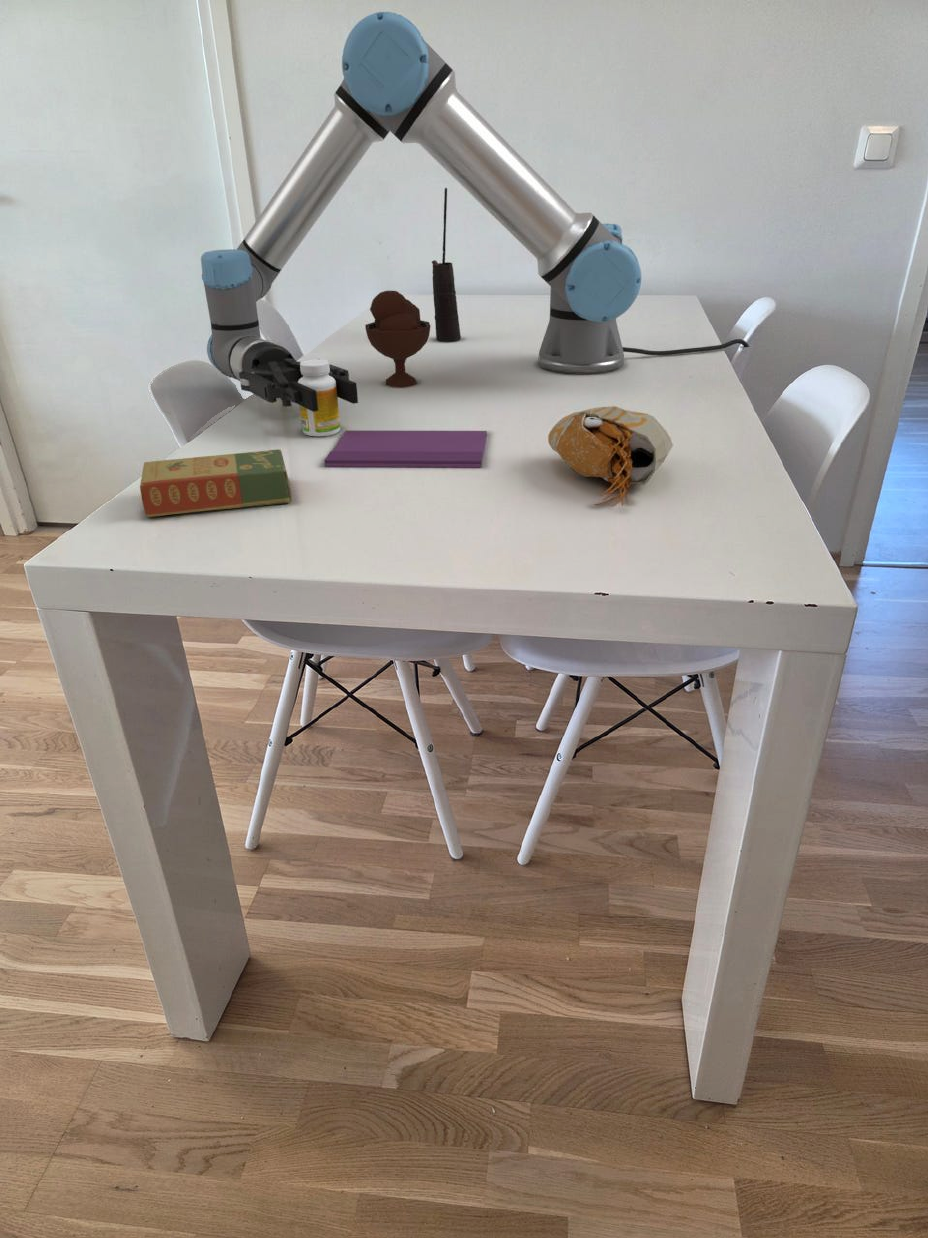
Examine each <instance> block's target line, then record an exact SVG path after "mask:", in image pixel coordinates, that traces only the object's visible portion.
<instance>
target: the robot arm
mask: <svg viewBox="0 0 928 1238" xmlns="http://www.w3.org/2000/svg"><path fill="white" fill-rule="evenodd" d="M341 68H342V69H341V71H342V76H343V79H342V81H341V82H340V85H339V86H338V88H337V89H336V91H335V92H334V94H333V97H334V107H333V108H332V110H331V111H330V113H329V114H328V115H327V117H326V118H325V119H324V121H323V123H322V124H321V125H320V126H319V128H318V130H317V131H316V133H315V135H314V136H313V137H312V138H311V140H310V141H309V143H308V144H307V146H306V148H305V149H304V151H303V152H302V153H301V155H300V156H299V158H298V159H297V161H296V162H295V164H294V165H293V166H292V168H291V169H290V171H289V172H288V174H287V175H286V176H285V178H284V179H283V181H282V182H281V184H280V185H279V187H278V188H277V190H276V191H275V193H274V194H273V196H272V197H271V198H270V200H269V201H268V203H267V205H266V206H265V208H264V209H263V210H262V211H261V213H260V215H259V217H258V218H257V219H256V220H255V222H254V224H253V225H252V227H251V228H250V229H249V231H248V233H247V234H246V235H245V236H244V238H243V240H242V241H241V242H240V243H239V244H238V247H237V248H236V249H235V248H234V249H215V250H209V251H208V250H207V251H205V252H204V253H202V255H201V256H200V265H201V279H202V282H203V287H204V293H205V299H206V305H207V309H208V315H209V321H210V330H211V331H210V332H211V334H210V336H209V338H208V341H207V344H206V354H207V357H208V360H209V363H211V365H212V366H213V367H214V368H215V369H216V370H218V371H219V372H220V373H221V374H222V375H224V376H225V377H228V378H232V379H234V380H236V381H239V384H240V389H241V391H244V392H249V393H251V394H252V395H255V396H256V397H259V398H260V399H261V400H264V401H265V402H267V403H271V404H273V403H277V401H278V400H277V399H280V400H281V405H282V407H285V408H287V407H291V406H292V403H293V404H296V405H298V406H299V407H300V406H302V407H304V408H306V409H308V410H311V411H313V412H315V411H318V404H317V394H316V390H314V389H311V388H309V387H307V386H305V385H302V384H300V383H298V381H299V379H300V378H302V377H303V375H302V374H301V371H300V363H301V362H302V361H298V360H296V359H295V358H294V356H293V354H292V353H291V352H290V351H289V350H288V349H287V348H286V347H284V346H282V345H279V344H277V343H274V342H272V341H269V340H267V339H263V338H261V331H260V321H259V315H258V307H257V302H258V301H259V300H262V299H263V298H264V297H265V296H266V295H267V294H268V292H269V291H270V290H271V288H272V285H273V283H274V281H276V279H277V277H278V276H279V274H280V273H281V271H282V270H283V269H284V267H285V266H286V265H287V263H288V261H289V260H290V259H291V258H292V256H293V255H294V253H295V252H296V251H297V250H298V248H299V246H300V245H301V243H302V242H303V241H304V240H305V238H306V237H307V235H308V234H309V233H310V231H311V229H312V228H313V227H314V226H315V224H316V223H317V221H318V220H319V219H320V218H321V216H322V214H324V212H325V210H326V209H327V207H328V206H329V205H330V203H331V202H332V200H333V199H334V197H335V196H336V195H337V193H339V191H340V189H341V188H342V186H343V185H344V183H345V182H346V181H347V180H348V178H349V176H351V174H352V172H353V171H354V170H355V168H356V167H357V166H358V164H359V163H360V161H362V159H363V157H364V156H365V154H366V153H367V152H368V150H369V149H370V148H371V146H372V145H373V144H374V143H377V142H383V141H384V140H385V139H386V138H387V136H388V135H389V133H391V134H393V135H394V136H395V138H397V139H398V140H399V141H400V142H401V144H417V145H419V146H420V147H422V148H423V150H425V152H426V153H428V154H429V155H430V156H431V157H432V158H433V159H434V160H435V161H436V162H437V163H438V164H439V165H440V166H441V167H442V168H443V169H444V170H445V171H446V172H447V173H448V174H449V175H450V176H451V177H452V178H453V179H455V181H457V183H458V184H459V185H460V186H462V187H463V189H464V190H466V191H467V192H468V193H469V194H470V195H471V196H472V197H473V198H474V200H476V201H477V202H478V203H479V204H480V205H481V206H482V207H483V208H484V209H485V210H486V211H487V212H488V213H489V214H490V215H491V216H492V217H493V218H494V219H495V220H496V221H498V222H499V223H500V225H501V226H503V228H505V229H506V230H507V231H508V232H509V234H511V235H512V237H514V238H515V240H517V241H518V242H519V243H520V244H521V245H522V246H523V248H525V249H526V250H527V251H528V252H529V253H531V255H532V256H533V257H534V258H536V261H537V274H538V276H539V277H540V278H541V279H542V280H543V281H545V283H546V284H547V285H549V287H550V297H549V320H548V323H547V326H546V330H545V332H544V336H543V339H542V342H541V344H540V347H539V350H538V357H537V358H538V360H537V361H538V362H537V364H538V365H539V367H541V368H543V369H544V370H547V371H551V372H556V373H564V374H576V375H577V374H582V375H583V374H584V375H586V374H587V375H588V374H601V373H607V372H612V371H616V370H618V369H621V368H622V367H623V366H624V361H625V360H624V359H625V353H633V354H640V355H646V356H647V355H648V356H671V355H681V354H689V353H691V354H692V353H700V352H701V353H702V352H709V351H718V350H723V349H726V348H728V347H731V346H733V345H736V344H740V345H742V346H743V347H744V348H750V345H749V343H748V342H747V341H746V340H744V339H741V338H736V339H731V340H729V341H727V342H724V343H722V344H716V345H709V346H708V345H707V346H700V347H689V348H678V349H670V350H649V349H643V348H635V347H626V346H623V345H622V344H623V343H622V339H621V336H620V332H619V327H618V323H617V318H619V317H621V316H622V315H624V314H625V313H626V312H627V311H628V310H629V309H630V308H631V307H632V305H633V304H634V303H635V301H636V299H637V298H638V295H639V293H640V289H641V285H642V270H641V266H640V263H639V260H638V258H637V256H636V254H635V252H634V251H633V250H632V249H631V247H629V246H628V245H627V244H624V243H623V241H624V240H623V236H622V233H623V231H622V227H621V226H620V225H619V224H617V223H603V222H601V221H600V220H599V219H598V218H597V217H596V216H595V215H594V214H593V213H592V212H577V211H575V210H574V209H573V208H572V207H571V206H570V205H569V203H567V202H566V201H565V200H564V199H563V198H562V197H561V196H560V195H559V194H558V193H557V191H556V190H554V189H553V188H552V187H551V185H549V184H548V182H547V181H545V179H544V178H542V176H541V175H540V174H539V172H537V171H536V170H535V169H534V167H532V166H531V165H530V164H529V162H527V161H526V160H525V159H524V158H523V157H522V156H521V154H519V153H518V152H517V150H515V148H514V147H512V146H511V145H510V144H509V143H508V142H507V140H506V139H505V138H504V137H503V136H502V135H501V134H500V133H499V132H498V131H496V129H495V128H494V127H493V126H492V125H491V124H490V123H489V122H488V121H487V119H485V118H484V117H483V116H482V115H481V114H480V112H478V111H477V110H476V109H475V107H473V106H472V105H471V104H470V103H469V102H468V100H466V99H465V97H464V96H463V95H462V94H460V92H459V91H458V89H457V83H456V72H455V71H454V69H453V68H452V67H451V66H450V65H449V64H448V63H447V62H446V61H445V60H444V59H443V58H442V57H441V55H439V54H438V52H436V51H435V50H434V48H433V47H431V45H430V44H429V43H428V42H427V41H426V40H425V39H424V37H423V36H422V34H421V31H420V30H419V29H418V28H417V26H416V25H415V24H414V23H413V22H412V21H411V20H409V19H408V18H407V17H405V16H403V15H402V14H398V13H396V12H392V11H378V12H377V11H376V12H374V13H371V14H368V15H366V16H365V17H363V18H362V19H360V20H359V21H358V22H357V23H356V24H355V25H354V27H353V28H352V29H351V30H350V32H349V33H348V35H347V38H346V40H345V43H344V46H343V50H342V57H341ZM329 366H330V372H329V373H328V374H329V376H331V377H333V378H334V379H335V381H336V387H337V397H338V399H341V400H344V401H345V402H349V403H351V404H353V405H354V404H359V397H358V384H357V382H355V381H352V380H350V374H349V370H348V369H345V368H342V367H339V366H336V365H334V364H332V363H331V364H330V363H329Z"/></svg>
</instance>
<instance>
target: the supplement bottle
mask: <svg viewBox="0 0 928 1238" xmlns="http://www.w3.org/2000/svg"><path fill="white" fill-rule="evenodd" d="M300 362H301V363H300V371H301V374H302V375H303V377H302V378H300V379H299V381H298V383H300V384H302V385H305V386H307V387H309V388H311V389H314V390H316V394H317V404H318V411H315V412H313V411H311V410H308V409H306V408H304V407H302V406H300V405H299V413H300V420H301V428H302V432H303V434H304V435H306V436H309V437H327V436H328V437H329V436H333V435H336V434H337V433H339V432H340V430H341V419H340V409H339V397H337V387H336V381H335V379H334V378H333V377H331V376H329V374H328V373H329V372H330V366H329V364H330V361H329V360H327V359H322V358H317V359H316V358H315V359H307V360H302V361H300Z"/></svg>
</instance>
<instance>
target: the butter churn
mask: <svg viewBox="0 0 928 1238" xmlns="http://www.w3.org/2000/svg"><path fill="white" fill-rule="evenodd" d="M443 194H444V198H443V199H444V202H443V232H442V233H443V234H442V235H443V236H442V259H441V260H442V261H441V262H439V263H438V261H437V260H434V259H433V260H432V261H431V265H432V294H433V306H434V307H433V309H434V322H435V323H434V325H435V339H436V341H437V342H441V343H452V342H458V341H460V340H461V339H462V336H461V329H460V328H461V327H460V319H459V311H458V310H459V309H458V301H457V295H456V294H457V291H456V284H455V274H454V267H453V263H452V262H449V261H447V262H446V244H447V243H446V241H447V240H446V238H447V236H446V233H447V212H448V211H447V210H448V209H447V207H448V187H445V188H444V193H443Z"/></svg>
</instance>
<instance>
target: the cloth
mask: <svg viewBox="0 0 928 1238" xmlns="http://www.w3.org/2000/svg"><path fill="white" fill-rule="evenodd" d="M487 431H488V430H345V431H344V432H343V434H342V435H341V437H340V439H339V440H338V442H337V443H336V445H335V447H334V448H333V449H332V450H330V451H329V452H328V454H327V455H326V457H325V458H324V467H325V468H326V467H329V468H331V467H332V468H333V467H335V468H337V467H342V468H343V467H344V468H345V467H347V468H351V467H352V468H482V465H483V459H484V452H485V446H486V440H487V435H488V434H487V433H488V432H487Z"/></svg>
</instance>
